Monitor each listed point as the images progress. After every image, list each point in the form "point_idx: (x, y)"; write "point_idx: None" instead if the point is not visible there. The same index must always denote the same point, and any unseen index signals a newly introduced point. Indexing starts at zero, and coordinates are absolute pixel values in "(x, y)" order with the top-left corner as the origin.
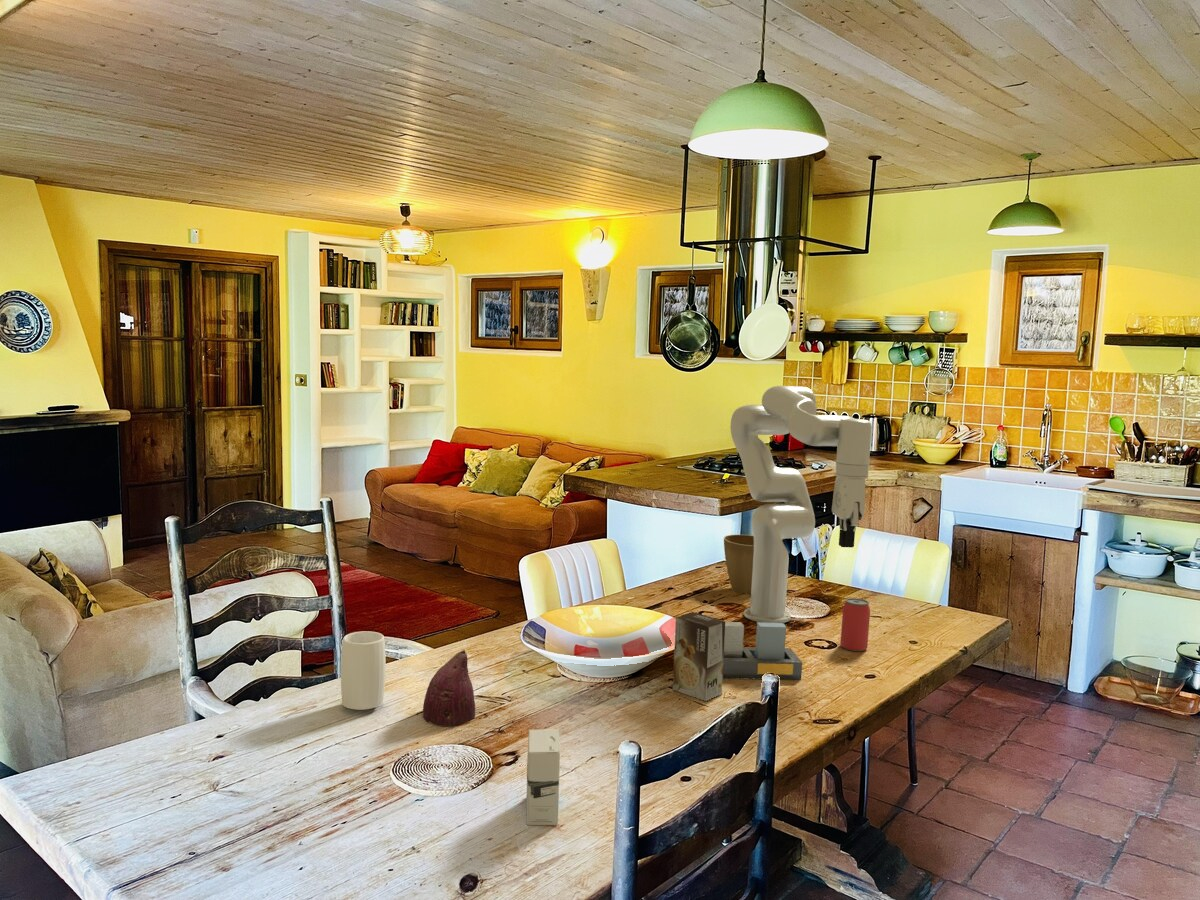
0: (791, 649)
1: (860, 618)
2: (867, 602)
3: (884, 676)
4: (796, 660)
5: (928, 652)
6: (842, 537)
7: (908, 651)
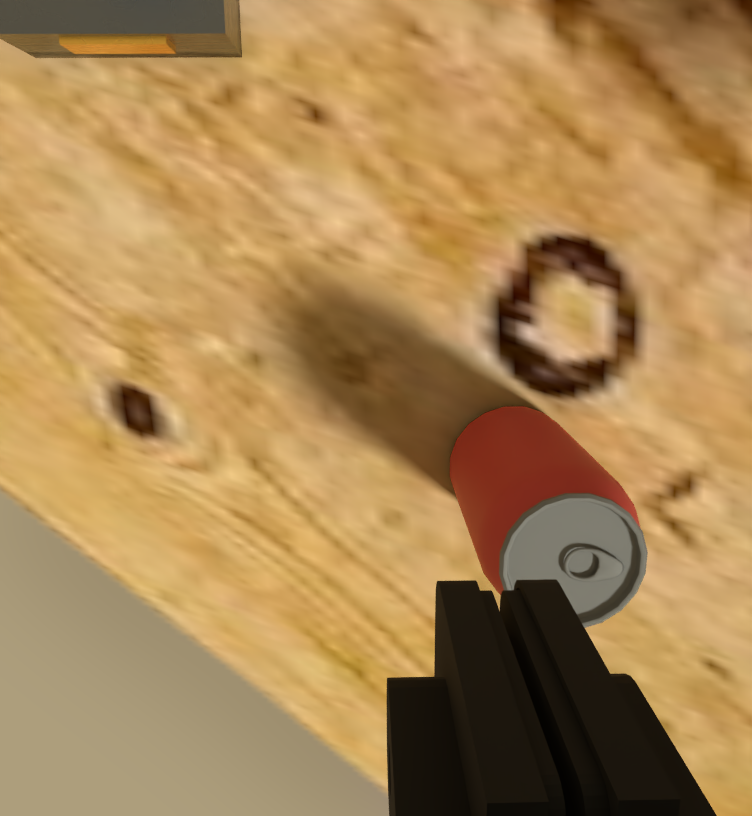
0: (206, 32)
1: (472, 526)
2: None
3: (144, 473)
4: (18, 7)
5: None
6: (456, 697)
7: None
